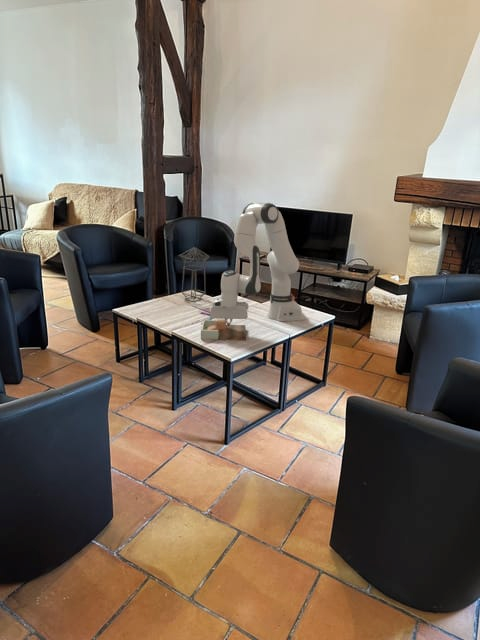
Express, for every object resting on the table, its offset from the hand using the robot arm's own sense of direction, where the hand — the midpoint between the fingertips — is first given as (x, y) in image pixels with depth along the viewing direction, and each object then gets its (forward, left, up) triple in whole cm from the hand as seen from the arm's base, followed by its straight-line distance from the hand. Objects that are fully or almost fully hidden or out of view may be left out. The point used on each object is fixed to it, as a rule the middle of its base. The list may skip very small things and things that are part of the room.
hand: (228, 325), depth 238 cm
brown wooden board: (-2, +3, -4) cm, 5 cm away
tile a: (+7, +6, -2) cm, 10 cm away
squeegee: (+13, -27, -5) cm, 30 cm away
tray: (+10, +3, -4) cm, 11 cm away
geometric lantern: (+24, -58, -4) cm, 63 cm away
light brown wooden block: (+4, 0, -1) cm, 4 cm away
